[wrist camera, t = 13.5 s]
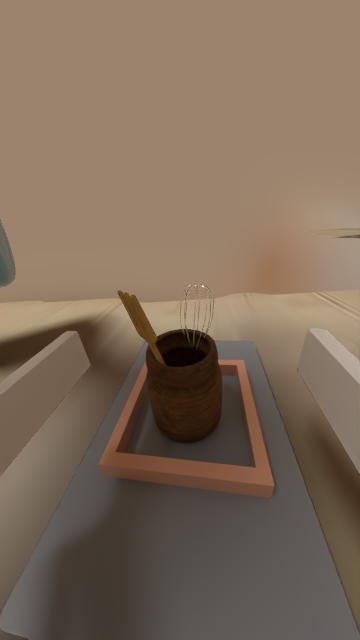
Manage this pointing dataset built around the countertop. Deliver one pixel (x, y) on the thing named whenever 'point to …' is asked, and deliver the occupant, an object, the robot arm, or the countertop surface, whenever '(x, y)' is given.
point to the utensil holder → (180, 376)
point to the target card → (185, 531)
